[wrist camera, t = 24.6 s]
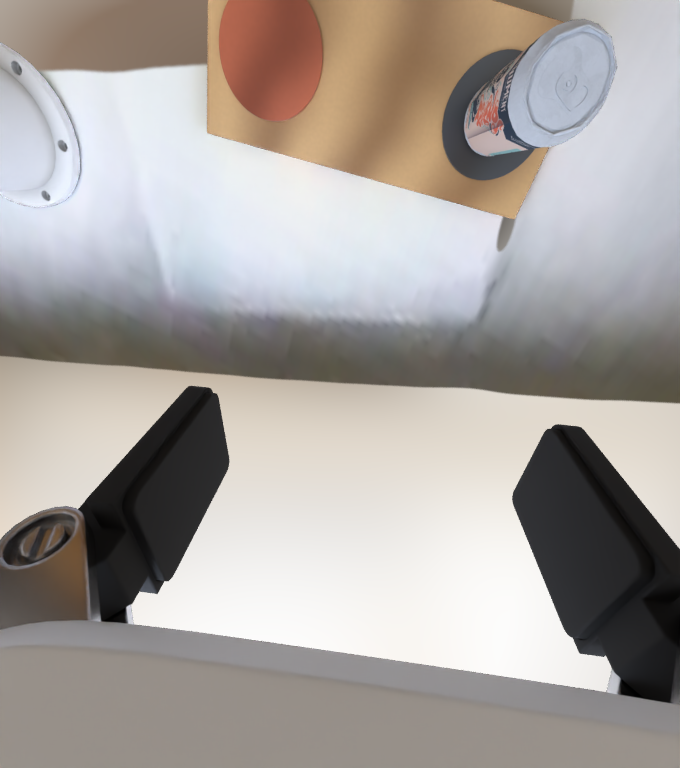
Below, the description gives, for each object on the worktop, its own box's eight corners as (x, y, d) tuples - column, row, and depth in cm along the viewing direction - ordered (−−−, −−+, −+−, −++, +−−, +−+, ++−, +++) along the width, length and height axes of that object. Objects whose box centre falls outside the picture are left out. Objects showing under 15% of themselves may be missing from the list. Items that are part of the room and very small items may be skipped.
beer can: (500, 60, 24) (589, -24, 14) (541, 111, 25) (649, 69, 15) (449, 126, 26) (493, 96, 16) (489, 170, 27) (553, 168, 17)
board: (213, 134, 29) (205, 132, 28) (217, -75, 23) (206, -92, 21) (509, 217, 31) (515, 220, 29) (592, 41, 24) (606, 31, 23)
